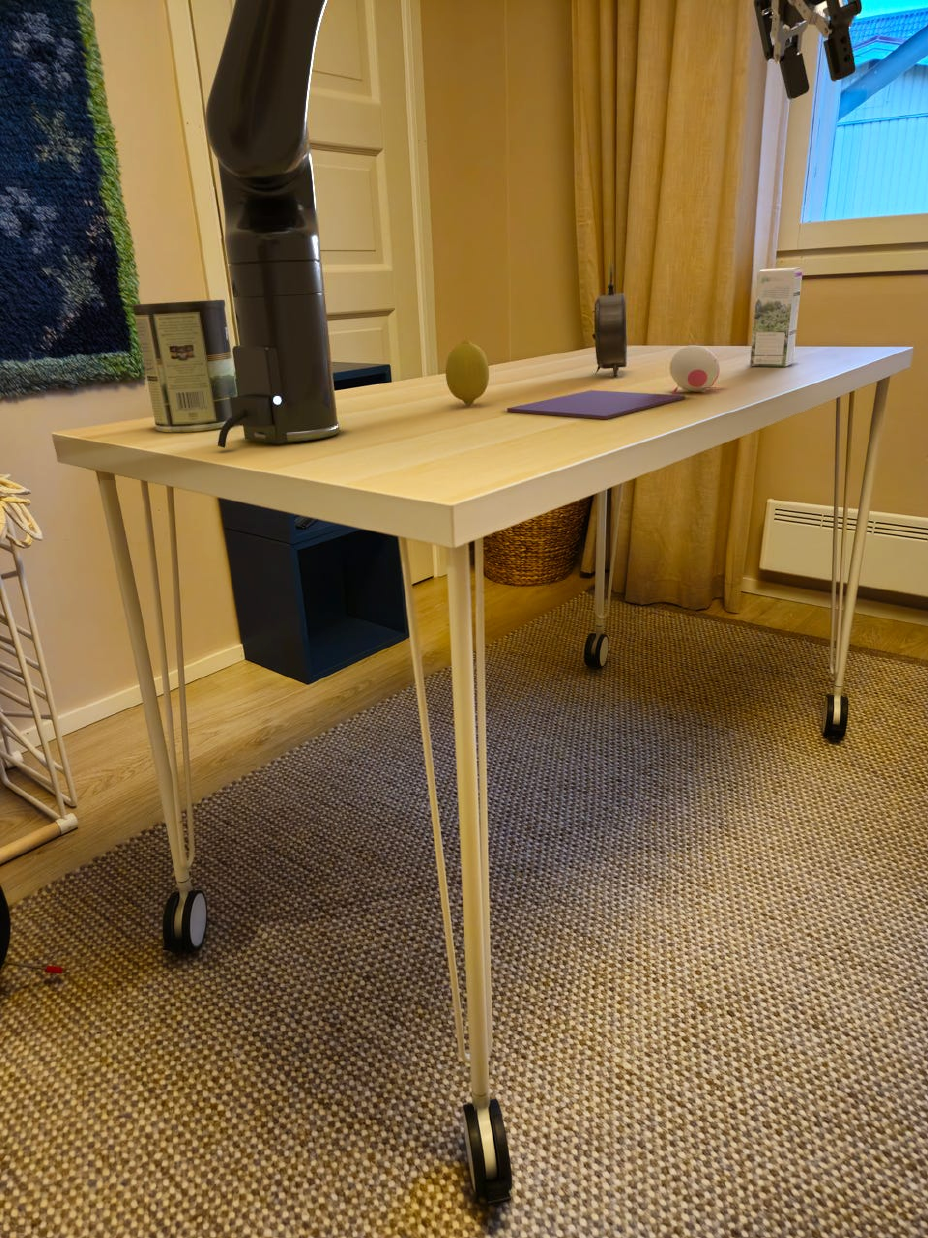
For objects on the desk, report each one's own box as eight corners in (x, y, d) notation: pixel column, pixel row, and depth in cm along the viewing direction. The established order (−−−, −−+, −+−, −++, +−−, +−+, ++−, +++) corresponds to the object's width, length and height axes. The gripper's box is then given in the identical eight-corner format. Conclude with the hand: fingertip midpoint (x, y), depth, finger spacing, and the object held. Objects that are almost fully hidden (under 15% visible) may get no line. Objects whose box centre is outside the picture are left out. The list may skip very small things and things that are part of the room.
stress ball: (717, 419, 107) (748, 373, 106) (672, 386, 104) (703, 339, 103) (691, 409, 114) (720, 366, 112) (648, 378, 111) (677, 333, 109)
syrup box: (794, 363, 135) (803, 266, 129) (785, 367, 130) (795, 267, 125) (758, 363, 138) (766, 268, 132) (748, 366, 133) (756, 269, 128)
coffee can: (222, 416, 107) (205, 299, 102) (256, 424, 99) (238, 298, 94) (142, 426, 101) (119, 304, 96) (171, 435, 94) (148, 303, 88)
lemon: (463, 401, 110) (461, 338, 107) (498, 403, 107) (496, 338, 104) (438, 407, 106) (434, 341, 103) (473, 409, 102) (471, 341, 99)
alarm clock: (625, 378, 126) (628, 262, 120) (589, 379, 127) (591, 264, 121) (627, 370, 136) (630, 263, 130) (594, 371, 137) (595, 265, 131)
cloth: (605, 419, 91) (605, 415, 91) (507, 411, 100) (507, 408, 99) (685, 398, 103) (685, 395, 103) (591, 393, 112) (591, 390, 112)
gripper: (713, -53, 85) (754, 116, 91) (782, -115, 71) (824, 87, 78) (781, -86, 84) (817, 86, 91) (862, -154, 71) (898, 52, 78)
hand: (820, 87), depth 84 cm, fingers open, 8 cm apart
